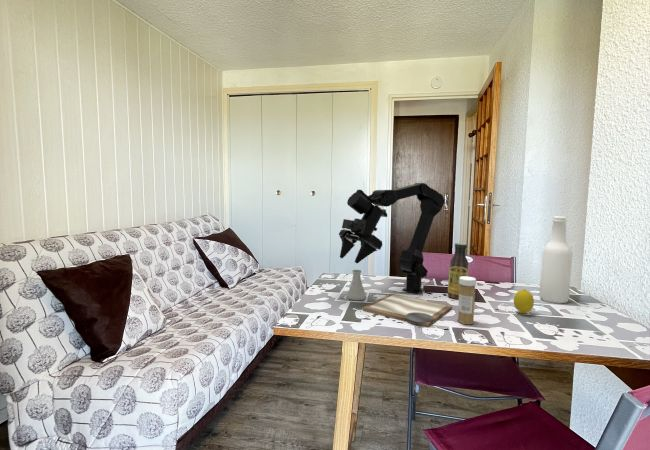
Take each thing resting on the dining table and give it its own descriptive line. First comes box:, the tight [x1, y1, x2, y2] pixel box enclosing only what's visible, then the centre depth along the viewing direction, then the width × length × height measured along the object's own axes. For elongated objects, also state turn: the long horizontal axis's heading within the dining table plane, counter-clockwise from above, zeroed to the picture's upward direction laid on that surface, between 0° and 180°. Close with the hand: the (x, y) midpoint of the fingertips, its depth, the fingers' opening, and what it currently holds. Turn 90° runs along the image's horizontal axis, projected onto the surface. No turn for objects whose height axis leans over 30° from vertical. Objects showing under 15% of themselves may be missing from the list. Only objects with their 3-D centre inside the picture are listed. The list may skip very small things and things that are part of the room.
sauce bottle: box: [447, 242, 469, 300], centre depth 129 cm, size 7×6×20 cm
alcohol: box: [539, 215, 573, 305], centre depth 126 cm, size 9×9×30 cm
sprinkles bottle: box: [457, 275, 477, 325], centre depth 105 cm, size 5×5×13 cm
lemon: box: [513, 288, 535, 315], centre depth 113 cm, size 6×6×8 cm
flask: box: [346, 269, 367, 301], centre depth 128 cm, size 7×7×10 cm
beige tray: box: [362, 293, 453, 328], centre depth 116 cm, size 21×22×1 cm
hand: (348, 260), depth 122 cm, fingers open, 9 cm apart
